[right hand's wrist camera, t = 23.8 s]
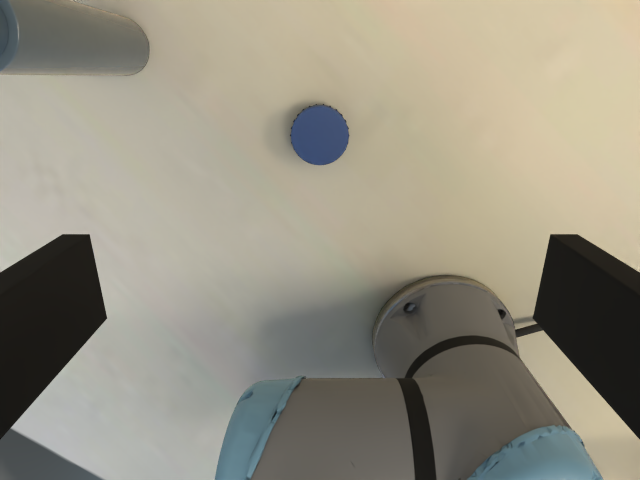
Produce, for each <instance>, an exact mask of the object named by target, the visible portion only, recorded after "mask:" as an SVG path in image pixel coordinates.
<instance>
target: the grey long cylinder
mask: <svg viewBox="0 0 640 480" xmlns="http://www.w3.org/2000/svg"><path fill="white" fill-rule="evenodd" d="M148 58H149V44H148V40H147V37H146V35H145V33H144V32H143V30H142V29H141V28H140V27H139V25H138V24H136V23H135V22H134V21H132V20H131V19H129V18H126V17H123V16H120V15H116V14H113V13H110V12H107V11H103V10H100V9H97V8H94V7H90V6H87V5H84V4H81V3H77V2H74V1H71V0H0V75H110V76H128V75H133V74H136V73H138V72H139V71H141V70H142V69H143V68H144V66H145V65H146V63H147V61H148Z"/></svg>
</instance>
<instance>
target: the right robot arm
mask: <svg viewBox="0 0 640 480" xmlns="http://www.w3.org/2000/svg"><path fill="white" fill-rule="evenodd" d="M106 319H107V316H106V311H105V306H104V301H103V297H102V292H101V287H100V282H99V277H98V273H97V268H96V263H95V258H94V253H93V249H92V244H91V239H90V234H63V235H61V236H59V237H58V238H56V239H54V240H53V241H51V242H49V243H48V244H46V245H45V246H43V247H41V248H40V249H38V250H36V251H35V252H33V253H32V254H30V255H28V256H27V257H25V258H23V259H22V260H20V261H18V262H17V263H15V264H14V265H12V266H10V267H9V268H7V269H5V270H4V271H2V272H0V439H1V438H2V437H3V436H4V435H5V433H6V432H7V431H8V430H9V429H10V428H11V427H12V426H13V424H14V423H15V422H16V421H17V420H18V419H19V418H20V416H21V415H22V414H23V413H24V412H25V411H26V410H27V409H28V407H29V406H30V405H31V404H32V403H33V402H34V401H35V399H36V398H37V397H38V396H39V395H40V394H41V393H42V392H43V390H44V389H45V388H46V387H47V386H48V385H49V384H50V382H51V381H52V380H53V379H54V378H55V377H56V376H57V375H58V373H59V372H60V371H61V370H62V369H63V368H64V367H65V365H66V364H67V363H68V362H69V361H70V360H71V359H72V358H73V356H74V355H75V354H76V353H77V352H78V351H79V350H80V348H81V347H82V346H83V345H84V344H85V343H86V342H87V341H88V339H89V338H90V337H91V336H92V335H93V334H94V333H95V331H96V330H97V329H98V328H99V327H100V326H101V325H102V323H103V322H104V321H105V320H106ZM533 319H534V320H535V321H536V322H537V323H538V324H535V325H531V326H528V327H524V328H520V329H517V330H515V327H514V323H513V320H512V317H511V315H510V313H509V311H508V310H507V308H506V307H505V306H504V304H503V303H502V302H501V301H500V299H499V298H498V297H497V296H496V295H495V294H494V293H493V292H492V291H491V290H490V289H489V288H487V287H486V286H484V285H482V284H481V283H479V282H477V281H474V280H472V279H468V278H465V277H460V276H435V277H430V278H426V279H422V280H419V281H417V282H414V283H412V284H410V285H408V286H406V287H405V288H403V289H402V290H400V291H399V292H398V293H396V294H395V295H394V296H393V297H392V298H391V299H390V300H389V301H388V302H387V303H386V304H385V306H384V307H383V308H382V310H381V311H380V313H379V315H378V317H377V319H376V322H375V325H374V330H373V349H374V354H375V359H376V363H377V365H378V368H379V370H380V372H381V374H382V375H383V377H384V378H306V377H305V376H298V377H296V378H295V379H282V380H264V381H260V382H257V383H255V384H253V385H252V386H250V387H249V388H248V389H247V390H246V391H245V392H244V393H243V395H242V396H241V398H240V399H239V401H238V403H237V405H236V407H235V409H234V411H233V414H232V416H231V419H230V422H229V424H228V427H227V430H226V434H225V437H224V441H223V444H222V448H221V452H220V456H219V461H218V465H217V470H216V476H215V480H603V478H602V476H601V474H600V473H599V471H598V470H597V468H596V466H595V464H594V463H593V461H592V459H591V458H590V456H589V454H588V453H587V451H586V449H585V448H584V444H583V442H582V439H581V438H580V436H579V435H578V434H576V433H575V431H573V430H572V429H571V427H570V426H569V425H568V423H567V422H566V420H565V419H564V418H563V416H562V415H561V414H560V412H559V411H558V410H557V408H556V407H555V405H554V404H553V403H552V401H551V400H550V399H549V397H548V396H547V395H546V393H545V392H544V390H543V389H542V388H541V386H540V385H539V384H538V382H537V381H536V380H535V378H534V377H533V375H532V374H531V373H530V371H529V370H528V369H527V367H526V366H525V365H524V363H523V362H522V360H521V359H520V357H519V351H518V345H517V340H516V337H520V336H524V335H527V334H531V333H535V332H538V331H542V330H544V331H545V333H546V334H547V335H548V336H549V337H550V338H551V339H552V341H553V342H554V343H555V344H556V345H557V346H558V347H559V348H560V350H561V351H562V352H563V353H564V354H565V355H566V356H567V358H568V359H569V360H570V361H571V362H572V363H573V364H574V365H575V367H576V368H577V369H578V370H579V371H580V372H581V373H582V375H583V376H584V377H585V378H586V379H587V380H588V381H589V382H590V384H591V385H592V386H593V387H594V388H595V389H596V390H597V392H598V393H599V394H600V395H601V396H602V397H603V398H604V399H605V401H606V402H607V403H608V404H609V405H610V406H611V407H612V409H613V410H614V411H615V412H616V413H617V414H618V415H619V416H620V418H621V419H622V420H623V421H624V422H625V423H626V424H627V426H628V427H629V428H630V429H631V430H632V431H633V432H634V433H635V435H636V436H637V437H638V438H639V439H640V272H638V271H636V270H635V269H633V268H631V267H630V266H628V265H626V264H625V263H623V262H622V261H620V260H618V259H617V258H615V257H613V256H612V255H610V254H608V253H607V252H605V251H604V250H602V249H600V248H599V247H597V246H595V245H594V244H592V243H591V242H589V241H587V240H586V239H584V238H582V237H581V236H579V235H577V234H550V239H549V244H548V249H547V253H546V258H545V263H544V268H543V273H542V277H541V282H540V287H539V292H538V297H537V301H536V306H535V311H534V316H533Z"/></svg>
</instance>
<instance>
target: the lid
mask: <svg viewBox="0 0 640 480" xmlns="http://www.w3.org/2000/svg"><path fill="white" fill-rule="evenodd" d="M297 116H298V117H297V118H296V120H294V121H293V122H294V124H293V126H292V127H291V129H292V130H291V135H290V136H291V141H292V142H291V143H292V145H293V148H294V150H295V151H296V153H297V154H298V156H300V157H301V158H302V159H303V160H304V161H306V162H308V163H311V164H314V165H325V164H329V163H332V162H334V161H335V160H337V159H338V158H339V157H340V156H341V155H342V154H343V152H344V151H345V150H346V147H347V144H348V138H349V133H348V129H349V128H348V126H347V125H346V120H344V119H343V117H342V114H340V113H339V112H338V111H337V109H336V110H335V109H333V108H332V107H331V106H326V105H324V104H323V105H317V104H316V105H314V106H309V107H308V108H306V109H305V110H304V109H303V110H302V112H301V113H300V114H298V115H297Z"/></svg>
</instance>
